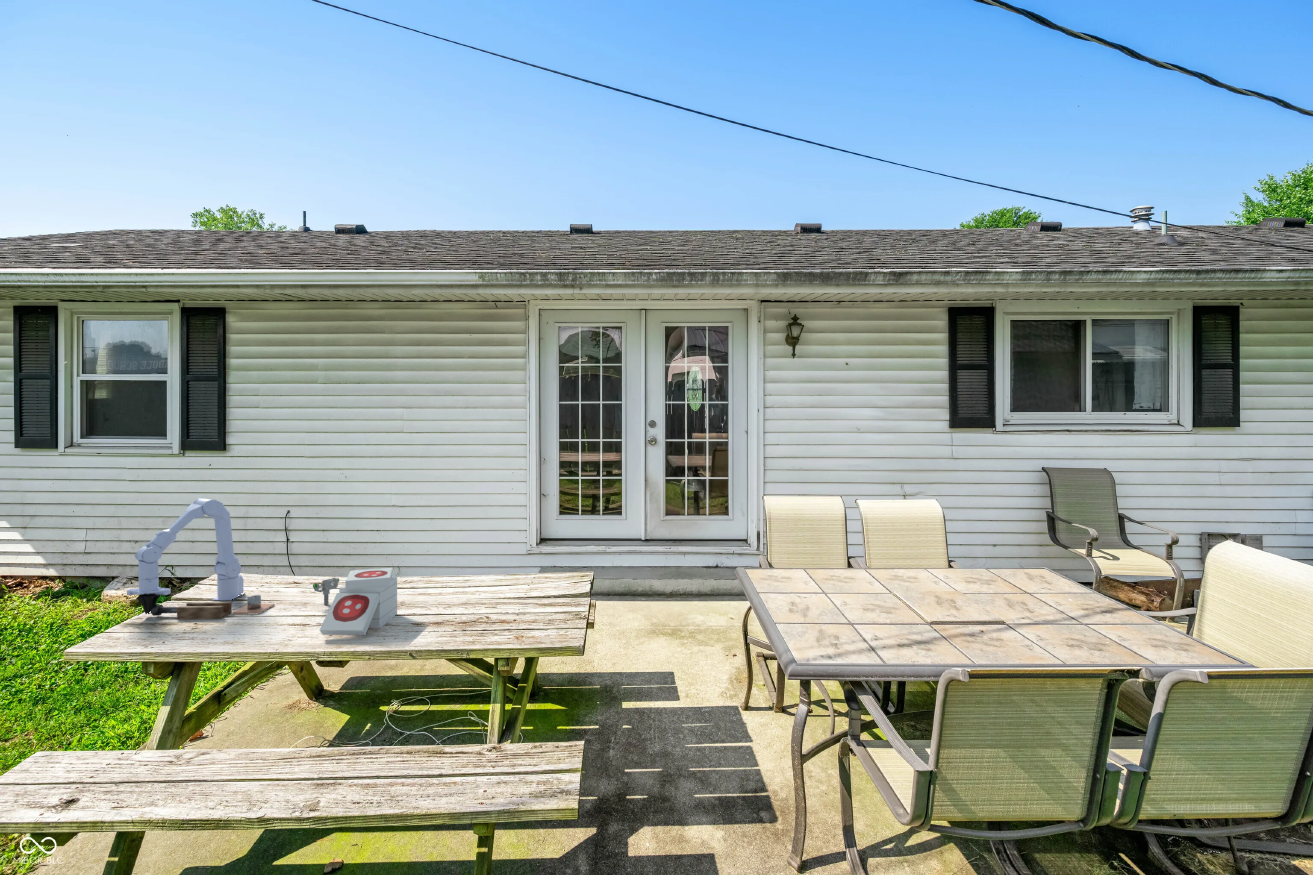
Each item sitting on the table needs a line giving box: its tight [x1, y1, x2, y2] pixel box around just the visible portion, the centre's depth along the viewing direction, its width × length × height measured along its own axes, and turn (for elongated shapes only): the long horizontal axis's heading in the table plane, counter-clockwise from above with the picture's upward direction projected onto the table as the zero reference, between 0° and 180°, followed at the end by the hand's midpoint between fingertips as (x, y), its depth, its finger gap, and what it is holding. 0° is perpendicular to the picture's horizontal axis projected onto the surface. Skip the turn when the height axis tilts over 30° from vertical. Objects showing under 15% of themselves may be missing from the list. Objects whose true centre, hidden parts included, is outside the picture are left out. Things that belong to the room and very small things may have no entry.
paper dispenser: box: [319, 567, 398, 636], centre depth 217 cm, size 19×30×18 cm, turn 1°
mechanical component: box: [312, 577, 340, 606], centre depth 240 cm, size 3×10×10 cm, turn 152°
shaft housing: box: [176, 601, 233, 620], centre depth 224 cm, size 16×6×4 cm, turn 94°
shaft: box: [150, 604, 178, 617], centre depth 224 cm, size 20×4×4 cm, turn 94°
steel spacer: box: [246, 594, 262, 610], centre depth 232 cm, size 4×4×5 cm
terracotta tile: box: [232, 603, 275, 615], centre depth 232 cm, size 10×10×1 cm
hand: (149, 613), depth 223 cm, fingers closed
